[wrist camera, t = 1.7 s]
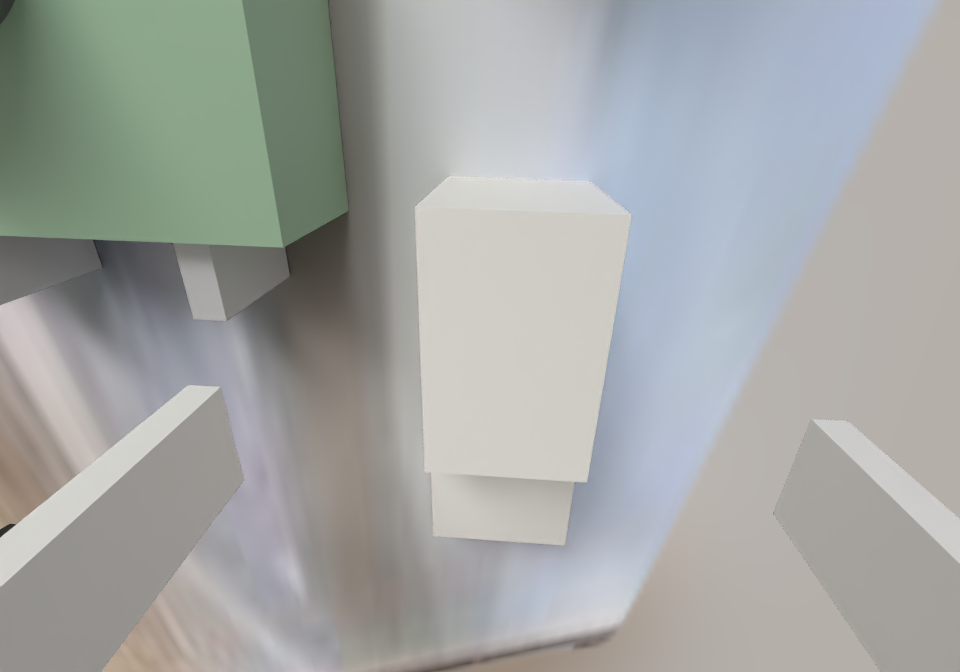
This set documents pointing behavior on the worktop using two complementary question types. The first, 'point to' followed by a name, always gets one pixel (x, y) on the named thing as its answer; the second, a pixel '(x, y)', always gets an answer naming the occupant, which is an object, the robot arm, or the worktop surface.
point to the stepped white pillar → (513, 348)
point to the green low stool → (166, 139)
